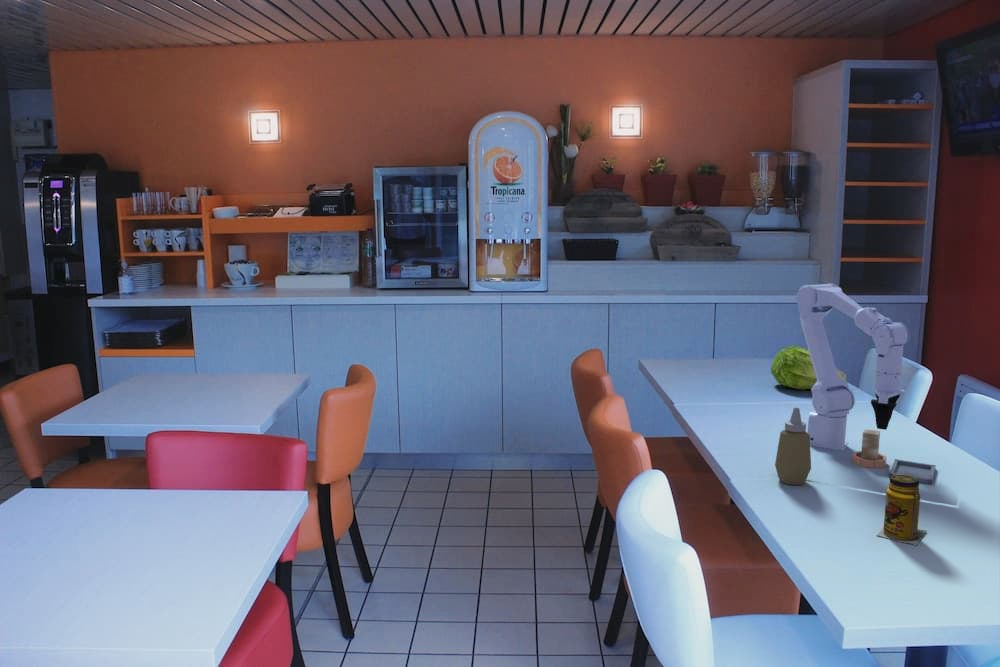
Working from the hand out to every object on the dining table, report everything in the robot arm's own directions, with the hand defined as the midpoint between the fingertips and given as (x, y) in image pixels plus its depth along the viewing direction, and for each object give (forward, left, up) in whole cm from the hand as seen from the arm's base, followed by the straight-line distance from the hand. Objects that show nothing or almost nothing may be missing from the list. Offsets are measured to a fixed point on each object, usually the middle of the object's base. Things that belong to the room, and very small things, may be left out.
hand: (883, 424), depth 198 cm
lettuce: (-31, +73, -11) cm, 81 cm away
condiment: (+9, -43, -11) cm, 45 cm away
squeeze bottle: (-16, -23, -11) cm, 31 cm away
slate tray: (+8, -4, -10) cm, 14 cm away
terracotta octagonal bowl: (-2, -1, -10) cm, 11 cm away
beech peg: (-2, -1, -10) cm, 10 cm away
